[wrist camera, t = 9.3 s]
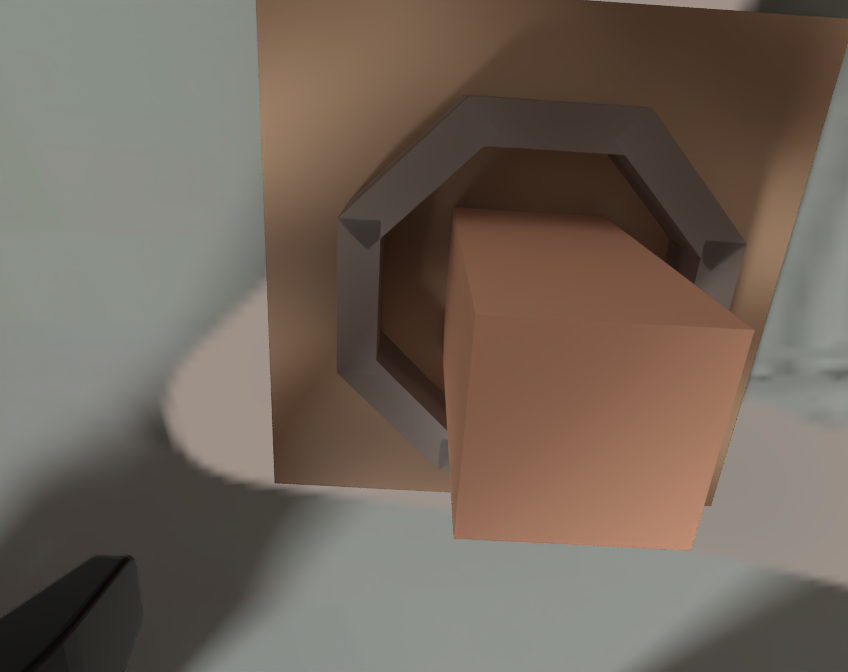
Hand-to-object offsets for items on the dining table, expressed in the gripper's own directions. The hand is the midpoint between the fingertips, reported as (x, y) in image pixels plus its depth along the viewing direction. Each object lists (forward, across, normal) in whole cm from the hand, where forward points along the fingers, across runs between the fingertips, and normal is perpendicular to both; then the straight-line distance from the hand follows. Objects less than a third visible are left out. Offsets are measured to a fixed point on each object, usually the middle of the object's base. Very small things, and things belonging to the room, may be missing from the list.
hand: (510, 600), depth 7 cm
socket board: (+12, -2, -1) cm, 12 cm away
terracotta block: (+10, -2, -1) cm, 11 cm away
